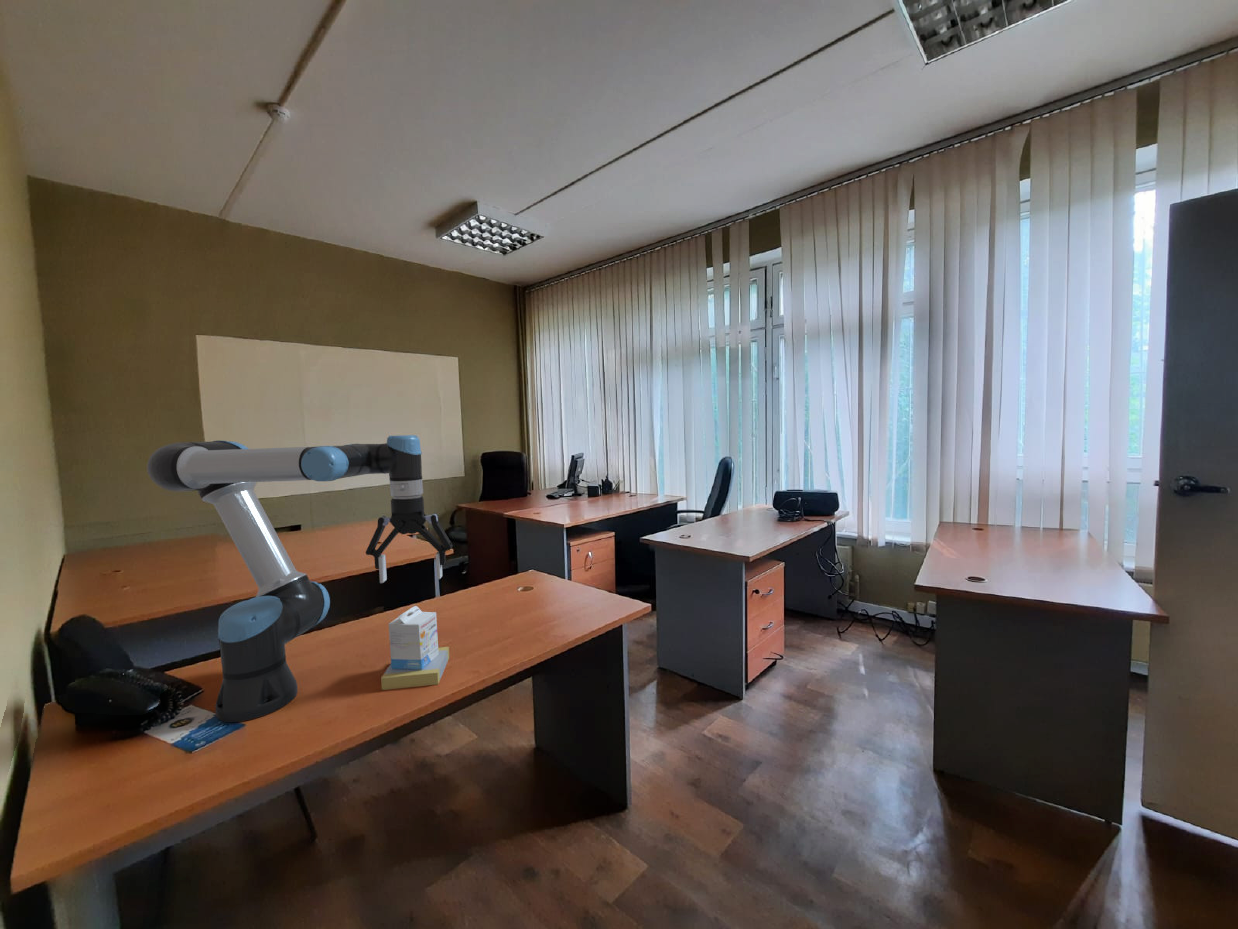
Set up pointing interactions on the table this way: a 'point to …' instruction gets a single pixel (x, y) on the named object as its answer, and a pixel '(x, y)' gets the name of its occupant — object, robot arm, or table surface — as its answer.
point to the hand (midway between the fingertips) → (411, 579)
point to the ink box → (413, 639)
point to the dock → (416, 673)
